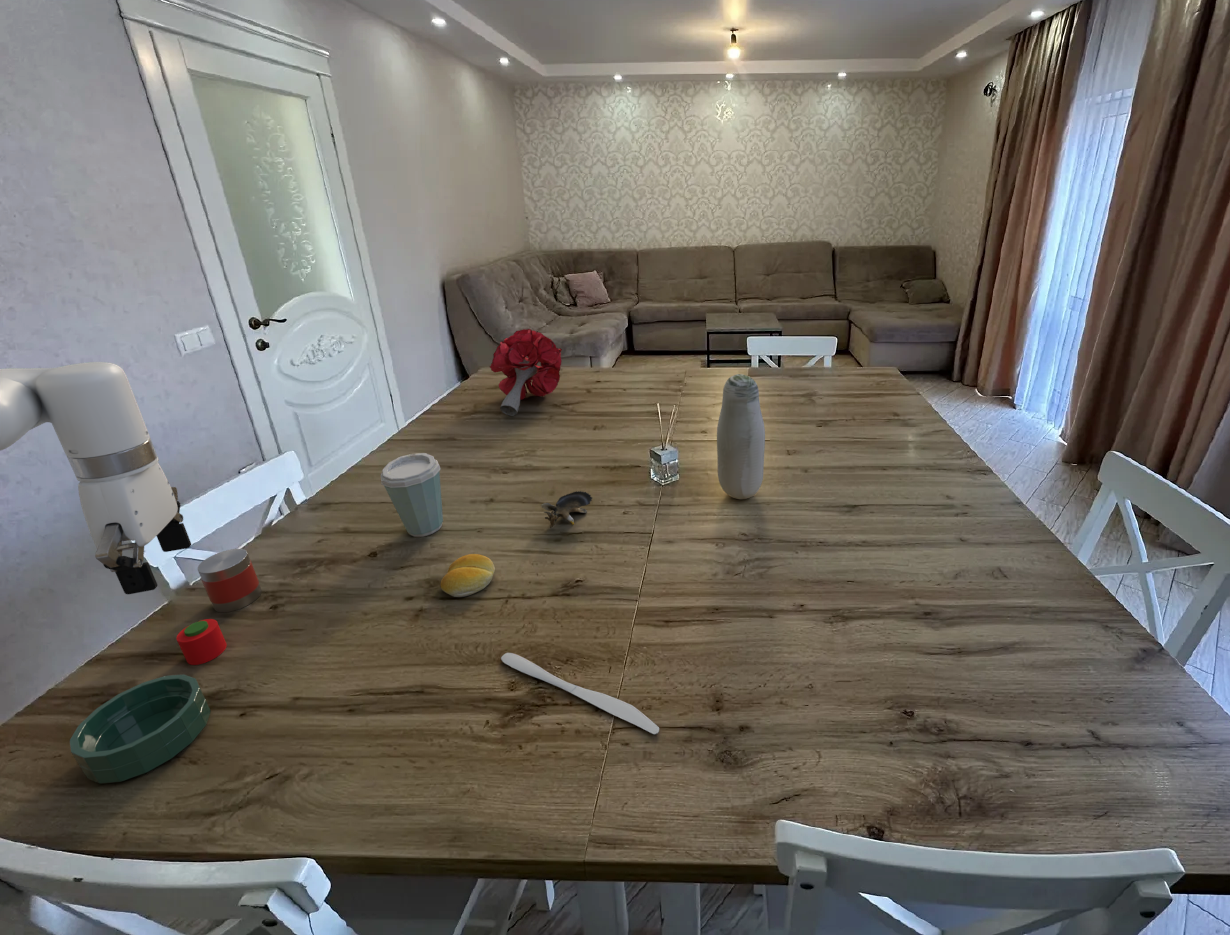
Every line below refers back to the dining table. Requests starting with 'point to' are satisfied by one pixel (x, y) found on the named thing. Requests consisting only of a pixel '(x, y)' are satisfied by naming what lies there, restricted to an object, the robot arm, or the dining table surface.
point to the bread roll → (468, 575)
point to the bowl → (140, 728)
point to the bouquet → (526, 367)
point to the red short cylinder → (201, 641)
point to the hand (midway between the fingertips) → (160, 568)
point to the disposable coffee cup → (415, 492)
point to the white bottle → (740, 438)
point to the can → (230, 580)
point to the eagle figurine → (567, 506)
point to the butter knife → (584, 693)
